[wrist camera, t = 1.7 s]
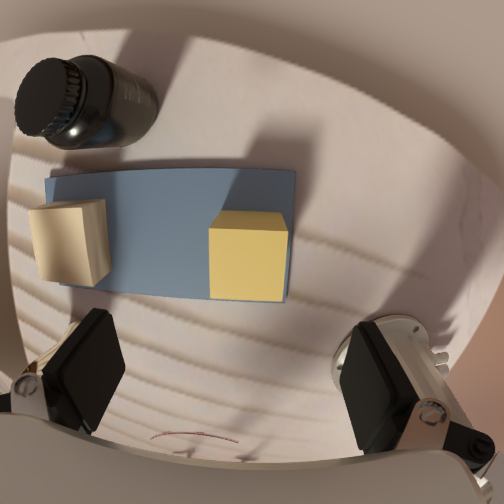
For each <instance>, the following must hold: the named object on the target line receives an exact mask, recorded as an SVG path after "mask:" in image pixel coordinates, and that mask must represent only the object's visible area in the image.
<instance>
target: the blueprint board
mask: <svg viewBox="0 0 504 504" xmlns="http://www.w3.org/2000/svg"><path fill="white" fill-rule="evenodd" d="M295 174H296V171H287V170H270V169H244V168H165V169H141V170H123V171H109V172H97V173H87V174H77V175H68V176H60V177H52V178H46V179H45V192H46V204H47V203H50V202H57V201H73V200H94V199H105V206H106V219H107V229H108V239H109V248H110V255H111V263H112V270H111V271H110V272H109V273H108V274H107V275H106V276H105V277H103V278H102V279H101V280H100V281H99V282H98V283H97V284H96V285H95V286H94V287H90V286H82V285H74V284H66V283H59V284H60V285H64V286H71V287H79V288H87V289H95V290H103V291H112V292H121V293H131V294H141V295H152V296H164V297H176V298H190V299H204V300H221V301H240V302H263V303H285V301H286V291H287V281H288V270H289V258H290V246H291V234H292V221H293V206H294V191H295ZM221 210H230V211H258V212H280V213H281V214H282V216H283V219H284V222H285V224H286V227H287V230H288V241H287V254H286V266H285V277H284V289H283V299H282V302H278V301H251V300H230V299H212V298H210V274H209V227H210V226H211V224H212V223H213V221H214V220H215V218H216V217H217V215H218V214H219V212H220V211H221Z"/></svg>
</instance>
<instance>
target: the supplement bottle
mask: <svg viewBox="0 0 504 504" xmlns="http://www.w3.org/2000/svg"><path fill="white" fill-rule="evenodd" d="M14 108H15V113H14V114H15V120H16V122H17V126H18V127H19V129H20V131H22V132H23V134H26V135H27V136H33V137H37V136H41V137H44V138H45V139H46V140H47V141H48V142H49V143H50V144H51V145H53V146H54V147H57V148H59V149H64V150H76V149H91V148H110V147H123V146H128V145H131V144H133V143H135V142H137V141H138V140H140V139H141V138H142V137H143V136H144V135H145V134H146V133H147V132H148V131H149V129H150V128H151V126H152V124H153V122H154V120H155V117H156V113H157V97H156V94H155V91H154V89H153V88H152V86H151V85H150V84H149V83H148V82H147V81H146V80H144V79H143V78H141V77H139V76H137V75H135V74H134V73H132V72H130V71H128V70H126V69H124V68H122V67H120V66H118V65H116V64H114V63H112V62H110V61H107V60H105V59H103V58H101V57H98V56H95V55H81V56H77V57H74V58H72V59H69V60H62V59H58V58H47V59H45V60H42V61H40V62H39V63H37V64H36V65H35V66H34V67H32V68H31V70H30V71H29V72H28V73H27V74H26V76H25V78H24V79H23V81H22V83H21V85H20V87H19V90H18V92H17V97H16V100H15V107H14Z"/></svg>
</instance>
